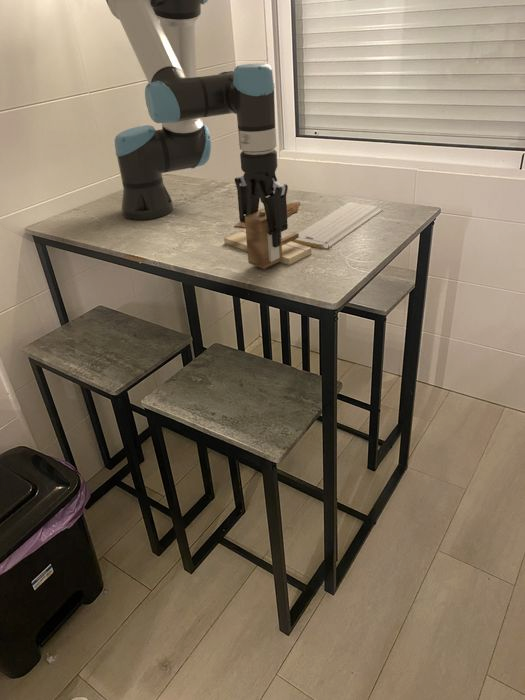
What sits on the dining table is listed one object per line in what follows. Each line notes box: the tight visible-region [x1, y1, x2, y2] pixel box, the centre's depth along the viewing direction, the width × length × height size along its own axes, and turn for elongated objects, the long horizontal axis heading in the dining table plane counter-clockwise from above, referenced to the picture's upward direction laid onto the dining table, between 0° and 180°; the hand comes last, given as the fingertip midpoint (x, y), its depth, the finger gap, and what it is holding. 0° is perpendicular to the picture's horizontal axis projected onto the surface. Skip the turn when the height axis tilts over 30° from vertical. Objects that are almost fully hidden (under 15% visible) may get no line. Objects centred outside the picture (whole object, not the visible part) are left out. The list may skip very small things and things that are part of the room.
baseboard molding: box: [291, 201, 381, 250], centre depth 140 cm, size 31×3×12 cm
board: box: [223, 228, 313, 266], centre depth 131 cm, size 22×8×2 cm, turn 46°
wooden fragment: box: [234, 201, 301, 229], centre depth 151 cm, size 26×11×1 cm, turn 131°
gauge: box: [244, 208, 299, 270], centre depth 121 cm, size 5×14×12 cm, turn 136°
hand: (265, 256), depth 121 cm, fingers closed on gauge, 5 cm apart
